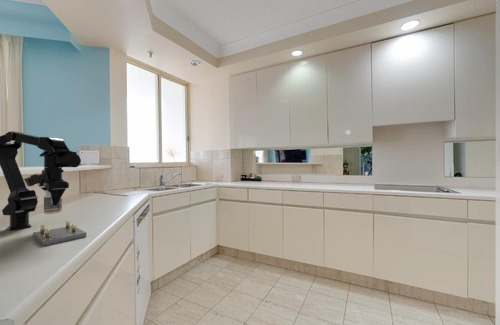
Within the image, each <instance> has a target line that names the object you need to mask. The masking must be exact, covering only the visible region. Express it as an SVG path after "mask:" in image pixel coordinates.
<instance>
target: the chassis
mask: <svg viewBox="0 0 500 325" xmlns="http://www.w3.org/2000/svg"><path fill="white" fill-rule="evenodd" d="M39 227H40V230H39V231H34V232H32V235H33V238H34V239H35V240H36V241H38V243H40V244H41V245H42V246H43V247H46V246H50V245H54V244H55V245H56V244H58V243H64V242H68V241H72V240H78V239H82V238H86V237H87V232H86V231H84V230H83V229H81V228H79V227H77V224H76V223H74V224H71V222H70V220H68V221H65V226H63V227H57V228H46V225H45V224H44V225H43V224H42V225H40V226H39Z"/></svg>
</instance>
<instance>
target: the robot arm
mask: <svg viewBox="0 0 500 325" xmlns="http://www.w3.org/2000/svg"><path fill="white" fill-rule="evenodd" d="M65 142H66V141H65V140H64V139H63V138H58V137H49V136H36V135H31V134H27V133H24V132H19V131H12V130H11V131H8V132H6V133H5V134H2V135H0V168H1V171H2V174H3V176H4V178H5V181H6V185H7V186H8V189H9V191H10V193H9V195H8V197H7V202H8V203H7V204H6V205H5V206H4V207H3V209H1V212H2V215H3V216H9V226H7V229H8V230H9V231H13V230H21V229H25V228H26V229H27V228H30V227H32V225H31V223H30V213H31V212H35V211H36V209H37V205H38V202H39V201H38V198H39V197H38V196H37V193H36V191H35V190H34V189H32V190H31V189H29V188H27V187H33V186H35V185H37V186H38V187H39V188H40V189H41V190H42V191H44V192H45V190H47V191H48V192H50V193H51V198H52V203H53V205H57V204H58V202H59V200H60V198H61V196H62V197H63V194H64V193H65V191H66V190H67V189H69V188H70V187H69V186H70V183H69V182H67V181H66V180H64V178H63V173H64V170H65V169H63V168H77V167H80V165H81V162H82V160H81V157H80V155H78V154H77V151H74V150H71V149H70V148H69V147H68V145H67V144H66V143H65ZM22 144H28V145H31V146H35V147H37V149H40V150H42V151H43V152H42V153H40V154H39V157H41V158H42V157H43V169H42V170H41V173H39V174H37V173H34V174H31V175H29V176H28V177H25V178H23V176H22V172H21V170H20V168H19V165H18V162H17V160H16V158H17V156H18V154H19V152H18V150H19V149H21V148H22Z"/></svg>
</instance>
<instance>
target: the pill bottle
mask: <svg viewBox="0 0 500 325" xmlns="http://www.w3.org/2000/svg"><path fill="white" fill-rule="evenodd" d="M44 193H45V195H44V196H43V214H45V215H52V214H59V213H61V212H63V195H62V196H61V198H60V200H59V202H58V204H57V205H53V203H52V198H51V193H50V192H48V191H47V190H45V191H44Z"/></svg>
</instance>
